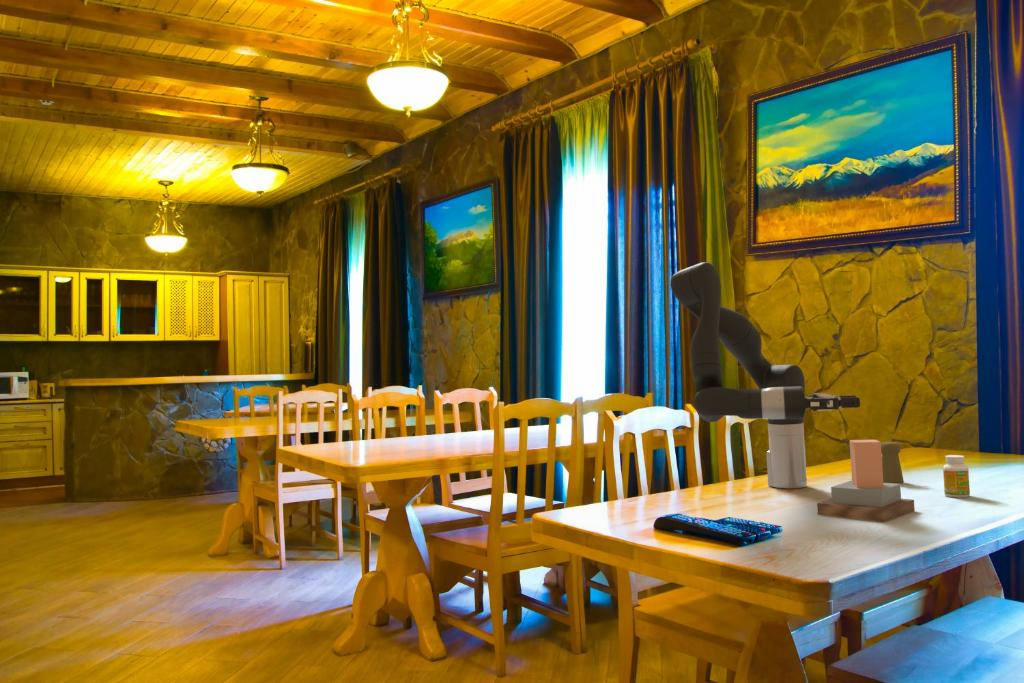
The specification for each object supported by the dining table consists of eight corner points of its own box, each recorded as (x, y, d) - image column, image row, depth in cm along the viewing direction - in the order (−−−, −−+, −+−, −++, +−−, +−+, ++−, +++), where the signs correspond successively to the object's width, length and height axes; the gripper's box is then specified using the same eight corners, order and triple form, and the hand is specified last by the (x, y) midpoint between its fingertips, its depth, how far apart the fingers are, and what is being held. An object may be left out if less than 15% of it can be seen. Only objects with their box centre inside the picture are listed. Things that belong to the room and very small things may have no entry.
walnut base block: (817, 518, 181) (817, 503, 181) (849, 508, 191) (848, 493, 191) (884, 526, 170) (883, 510, 170) (914, 515, 180) (914, 499, 180)
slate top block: (832, 502, 181) (831, 487, 181) (852, 495, 189) (851, 480, 189) (882, 507, 173) (881, 490, 173) (901, 499, 181) (900, 483, 181)
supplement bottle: (959, 498, 192) (956, 458, 192) (939, 495, 197) (937, 455, 197) (975, 496, 194) (972, 456, 194) (955, 493, 199) (953, 454, 199)
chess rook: (908, 483, 216) (905, 442, 216) (885, 484, 216) (883, 443, 216) (897, 480, 222) (895, 440, 222) (875, 481, 222) (873, 441, 222)
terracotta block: (856, 487, 178) (854, 442, 179) (852, 484, 184) (849, 440, 184) (883, 487, 177) (880, 441, 178) (878, 483, 183) (875, 439, 183)
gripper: (781, 388, 180) (860, 385, 175) (781, 385, 194) (854, 383, 188) (783, 421, 180) (862, 420, 175) (783, 416, 193) (856, 415, 188)
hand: (858, 401), depth 182 cm, fingers open, 8 cm apart
